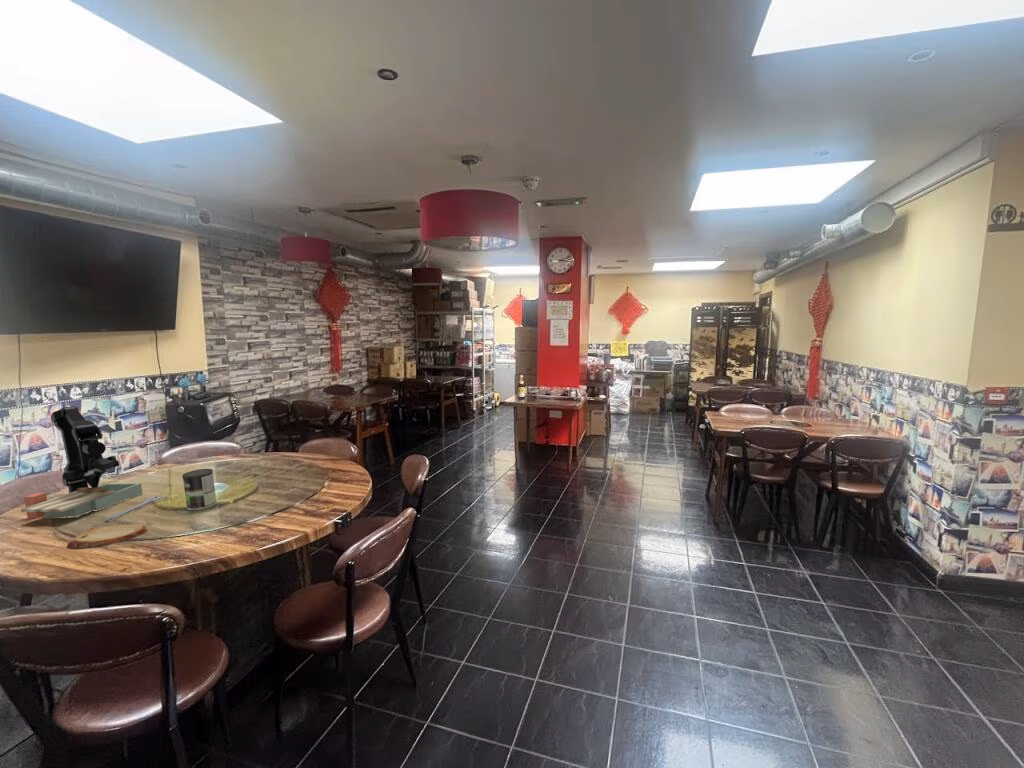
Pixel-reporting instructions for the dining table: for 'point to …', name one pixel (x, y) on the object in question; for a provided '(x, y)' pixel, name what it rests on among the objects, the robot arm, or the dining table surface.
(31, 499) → the red rectangular block
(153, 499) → the adjustable wrench
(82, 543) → the bread slice
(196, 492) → the coffee can
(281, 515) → the dining table surface
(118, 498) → the grey-green open box
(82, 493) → the slatted box lid
